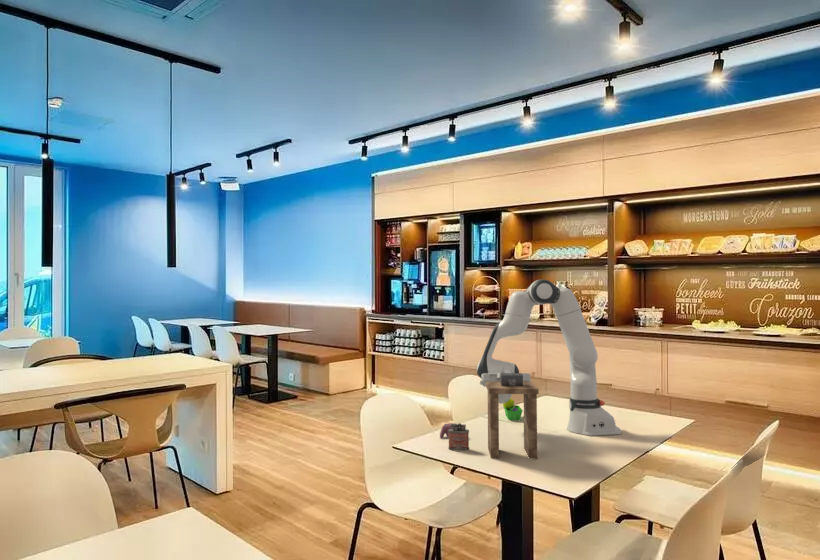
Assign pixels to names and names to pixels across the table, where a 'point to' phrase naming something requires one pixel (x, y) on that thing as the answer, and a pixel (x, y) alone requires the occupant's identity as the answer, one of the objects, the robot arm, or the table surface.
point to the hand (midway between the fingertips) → (507, 372)
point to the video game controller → (446, 429)
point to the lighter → (458, 437)
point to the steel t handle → (511, 379)
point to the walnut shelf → (529, 416)
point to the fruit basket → (512, 410)
